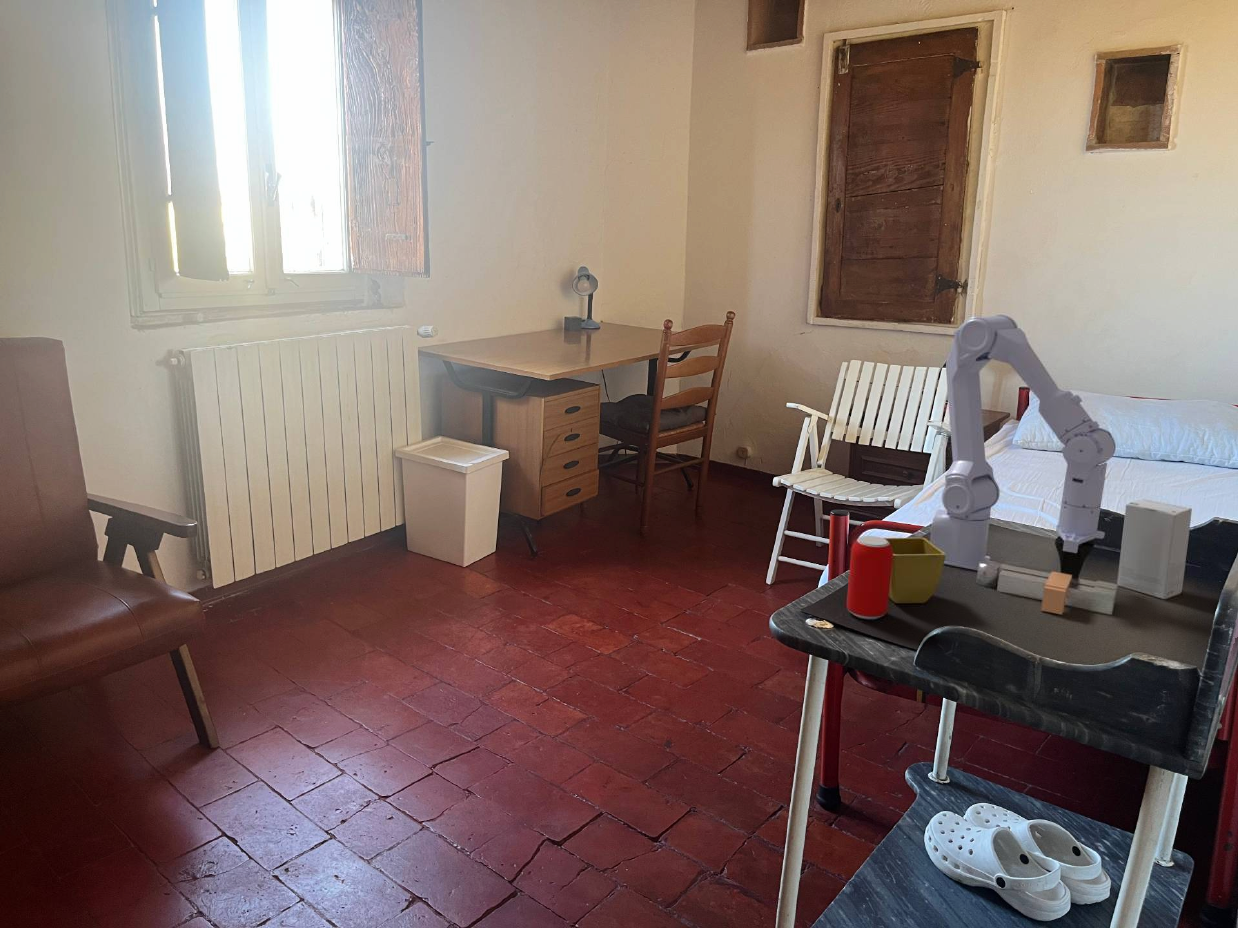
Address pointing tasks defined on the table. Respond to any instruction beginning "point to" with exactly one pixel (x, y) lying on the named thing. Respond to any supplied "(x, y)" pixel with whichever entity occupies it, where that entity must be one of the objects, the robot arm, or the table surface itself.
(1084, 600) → the tongs lower arm
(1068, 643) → the table surface
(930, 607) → the table surface
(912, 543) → the flower pot
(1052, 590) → the block
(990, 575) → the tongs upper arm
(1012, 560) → the table surface
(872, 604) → the beverage can
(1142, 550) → the skincare box
